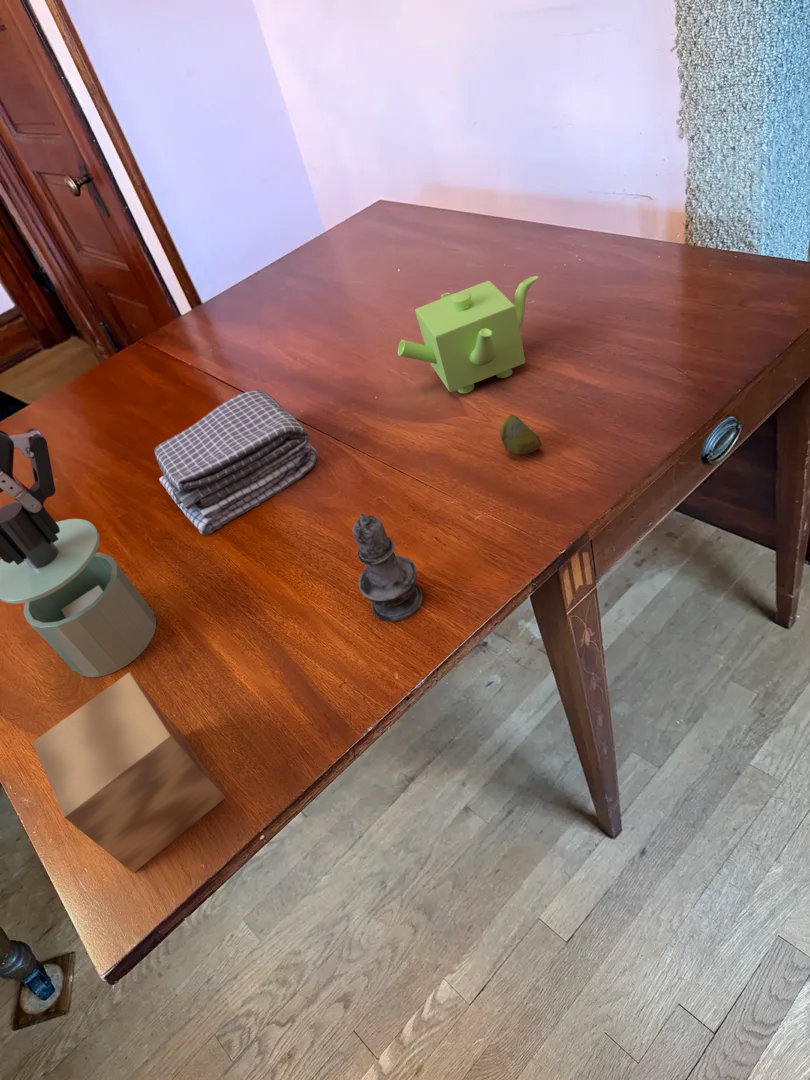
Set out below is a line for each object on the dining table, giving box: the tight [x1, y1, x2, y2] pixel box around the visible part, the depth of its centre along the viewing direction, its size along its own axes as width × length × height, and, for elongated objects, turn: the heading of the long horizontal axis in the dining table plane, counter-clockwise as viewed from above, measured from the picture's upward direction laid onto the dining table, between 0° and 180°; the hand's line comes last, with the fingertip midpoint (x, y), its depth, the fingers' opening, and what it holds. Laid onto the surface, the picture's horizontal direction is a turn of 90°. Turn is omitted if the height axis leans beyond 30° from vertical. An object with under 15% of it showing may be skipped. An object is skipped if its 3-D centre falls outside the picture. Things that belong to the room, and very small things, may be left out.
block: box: [61, 585, 103, 618], centre depth 80 cm, size 4×4×5 cm
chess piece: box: [352, 513, 424, 623], centre depth 71 cm, size 6×6×12 cm
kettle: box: [397, 275, 539, 394], centre depth 97 cm, size 15×14×11 cm
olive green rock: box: [499, 413, 543, 455], centre depth 84 cm, size 4×5×5 cm
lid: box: [0, 501, 100, 605], centre depth 71 cm, size 11×11×7 cm
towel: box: [154, 389, 318, 536], centre depth 95 cm, size 15×18×8 cm
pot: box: [23, 551, 157, 678], centre depth 79 cm, size 10×10×8 cm
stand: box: [31, 672, 226, 874], centre depth 62 cm, size 9×9×10 cm
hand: (36, 547), depth 72 cm, fingers closed on lid, 3 cm apart
